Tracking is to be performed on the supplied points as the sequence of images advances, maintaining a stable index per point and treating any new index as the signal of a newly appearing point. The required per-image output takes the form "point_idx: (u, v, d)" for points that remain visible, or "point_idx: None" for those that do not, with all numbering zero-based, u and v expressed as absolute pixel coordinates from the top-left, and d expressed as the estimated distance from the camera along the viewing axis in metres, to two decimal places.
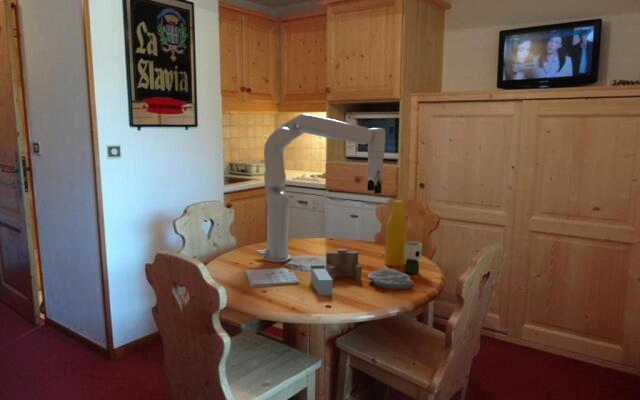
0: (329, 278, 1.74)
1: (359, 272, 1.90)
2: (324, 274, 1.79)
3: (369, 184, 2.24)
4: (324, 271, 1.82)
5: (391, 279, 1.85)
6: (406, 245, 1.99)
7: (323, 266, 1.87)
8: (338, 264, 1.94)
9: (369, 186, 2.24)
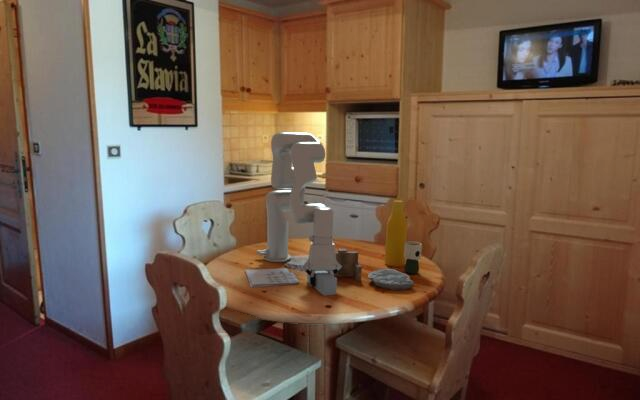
0: (333, 277, 1.75)
1: (359, 272, 1.90)
2: (325, 273, 1.79)
3: None
4: None
5: (391, 279, 1.85)
6: (406, 245, 1.99)
7: None
8: None
9: None
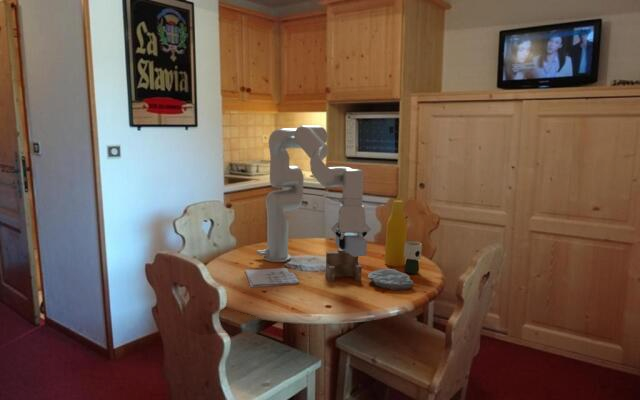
0: (363, 239, 1.75)
1: (359, 272, 1.90)
2: (354, 235, 1.79)
3: None
4: (352, 233, 1.82)
5: (391, 279, 1.85)
6: (406, 245, 1.99)
7: None
8: (338, 264, 1.94)
9: None
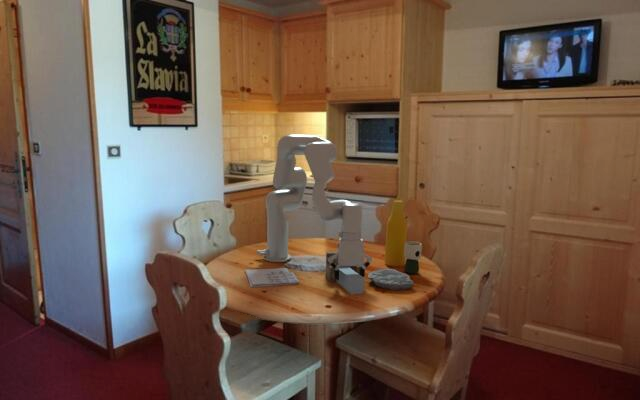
0: (360, 277, 1.77)
1: (359, 272, 1.90)
2: (352, 273, 1.81)
3: None
4: (351, 270, 1.85)
5: (391, 279, 1.85)
6: (406, 245, 1.99)
7: None
8: None
9: None
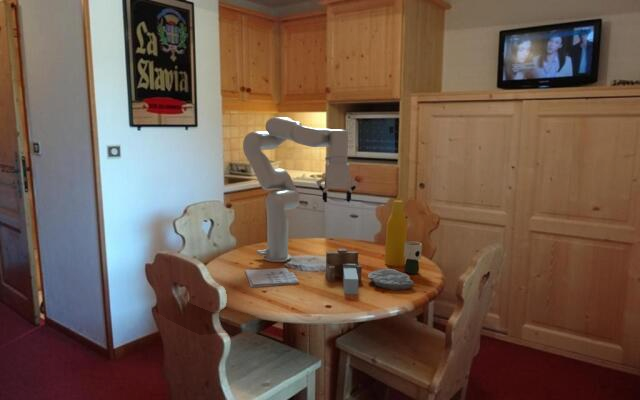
0: (355, 277, 1.76)
1: (359, 272, 1.90)
2: (352, 273, 1.81)
3: None
4: (354, 270, 1.84)
5: (391, 279, 1.85)
6: (406, 245, 1.99)
7: (355, 266, 1.89)
8: (338, 264, 1.94)
9: None
